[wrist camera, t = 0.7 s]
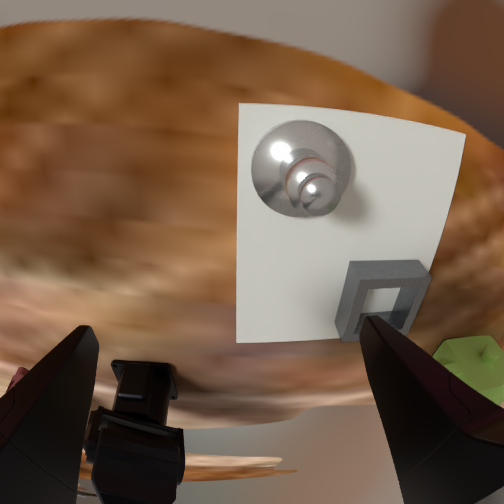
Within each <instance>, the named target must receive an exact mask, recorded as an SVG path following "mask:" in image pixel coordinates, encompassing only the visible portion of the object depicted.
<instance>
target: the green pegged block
mask: <svg viewBox="0 0 504 504" xmlns="http://www.w3.org/2000/svg"><path fill="white" fill-rule="evenodd" d="M432 357H433V358H434V359H435V360H437V361H438V362H439V363H440V364H442V365H443V366H444V367H446V368H447V369H448V370H449V372H452V373H453V374H454V375H456V376H457V377H458V378H460V379H461V380H462V381H464V382H465V383H466V384H467V385H469V386H470V387H472V388H473V389H475V390H476V391H478V392H479V393H481V394H482V395H484V396H485V397H487V398H488V399H490V400H491V401H493V402H494V403H496V404H497V405H500V404H501V403H502V402H503V401H504V352H503V350H502V349H501V348H500V347H499V345H498V344H497V343H496V341H495V340H494V339H493V338H492V336H491V335H482V336H471V337H462V338H454V339H448V340H444V341H443V343H442V344H441V345H440V347H439V348H438V349H437V351H436V352H435V353H434V355H433V356H432Z"/></svg>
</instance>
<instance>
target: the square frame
mask: <svg viewBox="0 0 504 504" xmlns="http://www.w3.org/2000/svg"><path fill="white" fill-rule="evenodd" d="M431 278H432V276H431V275H430V273H429V272H428V271H427V270H426V268H425V267H424V266H423V265H422V263H421V262H420V261H419V260H364V261H349V266H348V270H347V274H346V278H345V283H344V287H343V291H342V295H341V299H340V302H339V306H338V310H337V314H336V318H335V321H334V323H335V326H336V329H337V331H338V334H339V337H340V340H341V342H352V341H360V340H359V333H360V329H361V326H362V322H363V319H364V317H365V316H366V315H372V314H377V315H379V316H380V317H381V318H383V319H384V320H385V321H386V322H388V323H389V324H390V325H392V326H393V327H394V328H396V329H397V330H398V331H399V332H401V333H402V334H403V335H407V334H408V332H409V330H410V327H411V325H412V323H413V321H414V319H415V316H416V314H417V312H418V310H419V307H420V305H421V303H422V300H423V298H424V295H425V293H426V291H427V288H428V286H429V283H430V281H431ZM383 288H400V291H399V293H398V296H397V299H396V302H395V304H394V307H393V309H392V311H384V312H371V313H361V311H362V308H363V305H364V301H365V298H366V295H367V292H368V289H383Z"/></svg>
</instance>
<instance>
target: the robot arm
mask: <svg viewBox="0 0 504 504" xmlns="http://www.w3.org/2000/svg"><path fill="white" fill-rule="evenodd" d="M359 340H360V344H361V349H362V353H363V358H364V362H365V367H366V372H367V376H368V380H369V383H370V386H371V389H372V392H373V396H374V399H375V402H376V405H377V408H378V411H379V414H380V418H381V421H382V424H383V428H384V430H385V434H386V437H387V441H388V444H389V448H390V451H391V455H392V459H393V462H394V465H395V469H396V473H397V477H398V481H399V485H400V489H401V493H402V497H403V501H404V504H504V408H502V407H500V406H499V405H497V404H496V403H494V402H493V401H491V400H490V399H488V398H487V397H485V396H484V395H482V394H481V393H479V392H478V391H476V390H475V389H473V388H472V387H470V386H469V385H467V384H466V383H465V382H464V381H462V380H461V379H460V378H458V377H457V376H456V375H454V374H453V373H452V372H449V370H448V369H447V368H446V367H444V366H443V365H442V364H440V363H439V362H438V361H437V360H435V359H434V358H433V357H432V356H430V355H429V354H428V353H427V352H425V351H424V350H423V349H421V348H420V347H419V346H418V345H416V344H415V343H414V342H412V341H411V340H410V339H409V338H407V337H406V336H405V335H403V334H402V333H401V332H399V331H398V330H397V329H396V328H394V327H393V326H392V325H390V324H389V323H388V322H386V321H385V320H384V319H383V318H381V317H380V316H379V315H377V314H372V315H366V316H365V317H364V319H363V322H362V326H361V329H360V333H359ZM98 353H99V343H98V340H97V338H96V336H95V334H94V331H93V329H92V327H91V326H87V325H80V326H78V327H77V328H76V329H75V330H73V331H72V332H71V333H70V334H69V335H68V336H67V337H66V338H64V339H63V340H62V341H61V342H60V343H59V344H58V345H57V346H56V347H54V348H53V349H52V350H51V351H50V352H49V353H48V354H47V355H46V356H45V357H44V358H42V359H41V360H40V361H39V362H38V363H37V364H36V365H35V366H34V367H33V368H32V369H31V370H30V371H28V372H27V373H26V374H25V375H24V376H23V377H22V378H21V379H20V380H19V381H18V382H17V383H16V384H15V385H14V386H13V387H12V388H11V389H10V390H9V391H7V392H6V393H5V394H4V395H3V396H2V397H1V398H0V504H76V498H77V487H78V478H79V470H80V463H81V456H82V450H83V449H84V450H85V455H86V456H87V458H86V463H89V464H92V465H93V470H92V475H91V480H92V485H93V487H94V490H95V492H96V494H97V497H98V499H99V501H100V503H101V504H172V503H173V502H174V501H175V499H176V488H177V485H180V483H181V482H182V479H183V475H184V470H185V450H184V435H183V429H181V428H173V427H169V426H166V423H167V414H168V405H169V399H170V400H176V399H177V398H178V394H177V390H176V386H175V383H174V379H173V375H172V371H171V367H170V365H168V364H165V363H146V362H131V361H118V360H113V361H112V362H111V367H112V369H113V371H114V374H115V376H116V378H117V380H118V386H117V391H116V395H115V399H114V403H113V408H112V411H111V410H108V409H105V408H104V407H102V406H99V407H98V410H96V411H91V414H90V418H89V422H88V425H87V421H88V415H89V410H90V405H91V401H92V396H93V391H94V385H95V377H96V369H97V361H98ZM86 426H87V428H86Z"/></svg>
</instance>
